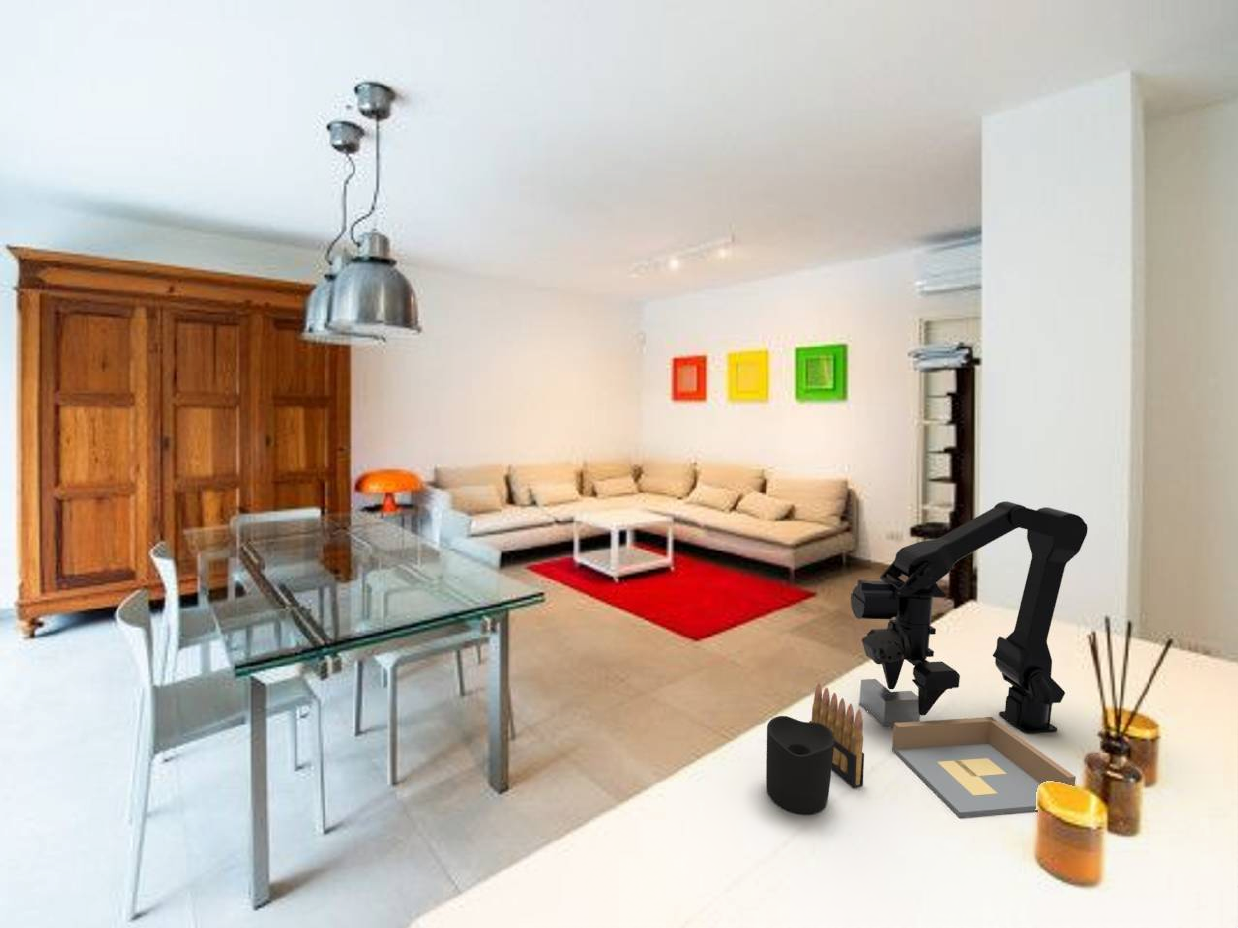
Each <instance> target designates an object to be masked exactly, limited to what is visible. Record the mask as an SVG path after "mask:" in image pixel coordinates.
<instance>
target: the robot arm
mask: <svg viewBox="0 0 1238 928" xmlns="http://www.w3.org/2000/svg"><path fill="white" fill-rule="evenodd" d="M1019 528H1021V529H1023V530H1026V531H1027V532H1026V540H1027V543H1028V546H1029V550H1030V552H1031V560H1030V564H1029V567H1028V571H1027V577H1026V581H1025V585H1024V589H1023V593H1022V597H1021V601H1020V606H1019V609H1018V612H1017V613H1018V614H1017V618H1016V623H1015V626H1014V630H1013V631H1012V632H1011V633H1010V634H1009V635H1008V636H1006V637H1003V636H998V638H997V640H996V648H995V651H994V652H993V654H992V657H993V658H994V659H995V667H996V668H997V669H998V671H999V672H1001V675H1002V676H1001V677H1002V679H1003V680H1004V681H1005V682H1008V683H1009V684H1010V685H1011V686H1008V693H1007V695H1006V698H1005V706H1004V707H1005V708H1004V710H1003V711H1002V710H1001V711H999V712H998V715H999V716H1001V717H1002V718H1003V719H1005V720H1006V721H1008V722H1010V723H1011V724H1012V725H1014V726H1015V727H1017V729H1019V730H1020V731H1022V732H1024V733H1026V734H1035V733H1036V734H1037V733H1049V732H1050V733H1051V732H1058V727H1057V726H1055V725H1053V724H1052V723H1051V717H1052V710H1053V709H1052V708H1053V705H1054V704H1060V703H1061V702H1062V701H1063V698H1064V696H1065V694H1066V692H1065V690H1064V689H1063V688H1062V687H1061V686H1060V685H1059V684H1058V683H1057V682H1056V680H1055V679H1054V678H1052V668H1053V658H1052V655H1051V652H1050V649H1049V645H1048V638H1049V634H1050V630H1051V624H1052V621H1053V617H1054V613H1055V610H1056V609H1055V608H1056V604H1057V602H1058V601H1057V600H1058V598H1059V597H1058V596H1059V592H1060V589H1061V585H1062V580H1063V576H1064V573H1065V568H1066V565H1067V563H1069V562H1070V561H1071V559H1073V558H1074V557H1076V556H1077V554H1078V553H1079V552H1080V551H1081V549H1082V547H1083V545H1084V543H1085V540H1086V538H1087V536H1088V535H1087V534H1088V529H1089V527H1088V524H1087V523H1086V522H1085V520H1084V519H1083V517H1082V516H1080V515H1078V514H1076V513H1071V512H1067V511H1063V510H1060V509H1055V508H1052V507H1049V506H1048V507H1046V506H1045V507H1042V508H1040V507H1039V508H1038V509H1032V508H1029V507H1026V506H1024V505H1021V504H1019V503H1015V502H1011V501H1001V502H998V503H996V504H995V505H994V507H992V508H991V509H988V510H987V511H985V512H983V513H981V514H980V515H978V516H977V517H975V518H973V519H971V520H969V521H966V522H965V523H964V524H961V525H960V526H958V527H956V528H954V529H953V530H950V531H949V532H947V533H945V534H944V535H942V536H939V537H937V538H935V539H929V540H922V541H918V542H915V543H913V544H910V545H907V546H904V547H902V548H900V549H899V550H898V551H896V553H895V556H894V560H893V561H892V563H890V565H889V566H888V567H887V568H886V570H885V571H884V572H883V573H882V574H881V575H880V577H879V579H880V580H868V579H858V580H857V585H856V586H855V587H854V588H853V590H852V593H850V605H851V609H852V613H853V615H854V617H855V618H856V619H858V620H889V621H888V622H887V628H876V629H875V628H874V629H871V630H870V631H869V632H868V633H866V636H864V637H862V638H861V643H862V646H863V650H864V653H865V654H864V655H865V657H867V658H869V659H870V660H872V661H873V663H875V664H876V665H881V667H882V669H883V674H884V677H885V681H886V685H887V689H888V690H895V688H896V685H897V684H898V680H899V678H900V674H901V672H902V667H903V664H904V662H905V660H906V661H907V662H908V663H910V664H911V665H913V666H914V667H913V669H912V675H913V678H914V679H911V681H912V683H913V684H915V686H916V687H917V690H918V691H917V696H918V709H919V714H920V717H921V716H926V715H927V714H928V713H929V712H930V710H931V709H932V708H933V707H934V705H935V703H937V701H938V699H940V697H942V695H943V694H945V692H946V691H947V690H952V689H957V688H959V687H960V682H961V681H960V679H961V675H960V674H959V672H958V671H957V670H956V669H954V668H953V667H951V666H949V664H946V663H945V662H944V661H929V660H927V658H934V656H935V654H934V653H935V651H934V650H933V649H931V648H930V637H931V636H932V635H936V632H937V629H936V628H935V627H933V626H931V624H932V614H933V613H932V612H933V611H932V610H933V602H934V601H933V599H934V598H946V596H947V594H946V593H945V591H943V590H942V589H941V588H940V587H939V585H938V582H939V581H940V580H942V579H943V578H944V577H946V576H947V575H949V573H950V572H951V570H952V569H953V567H954V565H955V564H957V562H958V561H960V560H962V559H963V558H965V557H967V556H968V555H970V554H972V553H974V552H975V551H977V550H979V549H981V548H983V547H985V546H987V545H989V544H990V543H992V542H994V541H996V540H998V539H999V538H1002V537H1003V536H1005V535H1007V534H1008V533H1010V532H1012V531H1014V530H1016V529H1019ZM900 577H904V578H906V580H905V581H904V580H903V579H901V578H900Z"/></svg>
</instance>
